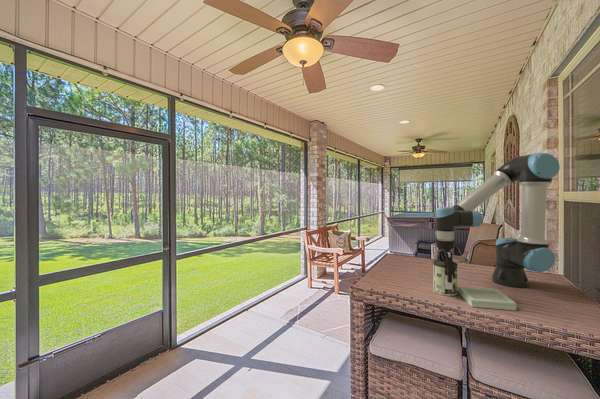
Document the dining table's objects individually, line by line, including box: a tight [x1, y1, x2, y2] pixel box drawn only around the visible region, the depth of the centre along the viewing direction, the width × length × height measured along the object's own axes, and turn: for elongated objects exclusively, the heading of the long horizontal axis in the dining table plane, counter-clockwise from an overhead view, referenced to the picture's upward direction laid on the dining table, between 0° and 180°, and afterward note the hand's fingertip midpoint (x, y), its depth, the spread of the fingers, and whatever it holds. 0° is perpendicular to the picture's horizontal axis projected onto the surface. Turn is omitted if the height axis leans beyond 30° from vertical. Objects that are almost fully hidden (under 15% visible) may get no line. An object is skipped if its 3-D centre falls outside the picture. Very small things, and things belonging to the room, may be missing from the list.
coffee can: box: [432, 259, 458, 297], centre depth 130 cm, size 10×10×14 cm
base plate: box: [458, 286, 517, 311], centre depth 119 cm, size 16×16×3 cm
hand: (444, 284), depth 130 cm, fingers open, 13 cm apart
